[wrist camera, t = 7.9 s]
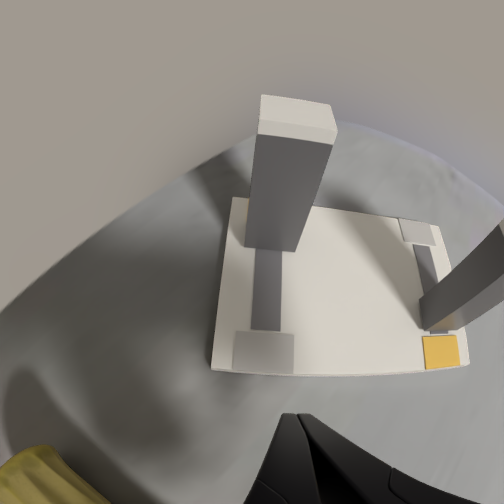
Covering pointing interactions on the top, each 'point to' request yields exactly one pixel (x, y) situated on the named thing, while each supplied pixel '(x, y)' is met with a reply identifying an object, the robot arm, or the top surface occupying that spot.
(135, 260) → the top surface
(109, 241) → the top surface
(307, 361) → the switch board
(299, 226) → the switch
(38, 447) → the vase
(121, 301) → the top surface
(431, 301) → the switch
